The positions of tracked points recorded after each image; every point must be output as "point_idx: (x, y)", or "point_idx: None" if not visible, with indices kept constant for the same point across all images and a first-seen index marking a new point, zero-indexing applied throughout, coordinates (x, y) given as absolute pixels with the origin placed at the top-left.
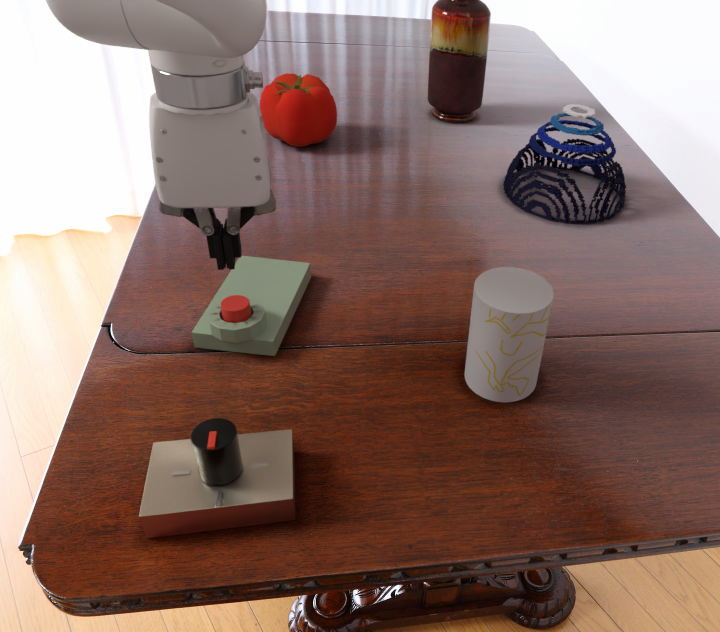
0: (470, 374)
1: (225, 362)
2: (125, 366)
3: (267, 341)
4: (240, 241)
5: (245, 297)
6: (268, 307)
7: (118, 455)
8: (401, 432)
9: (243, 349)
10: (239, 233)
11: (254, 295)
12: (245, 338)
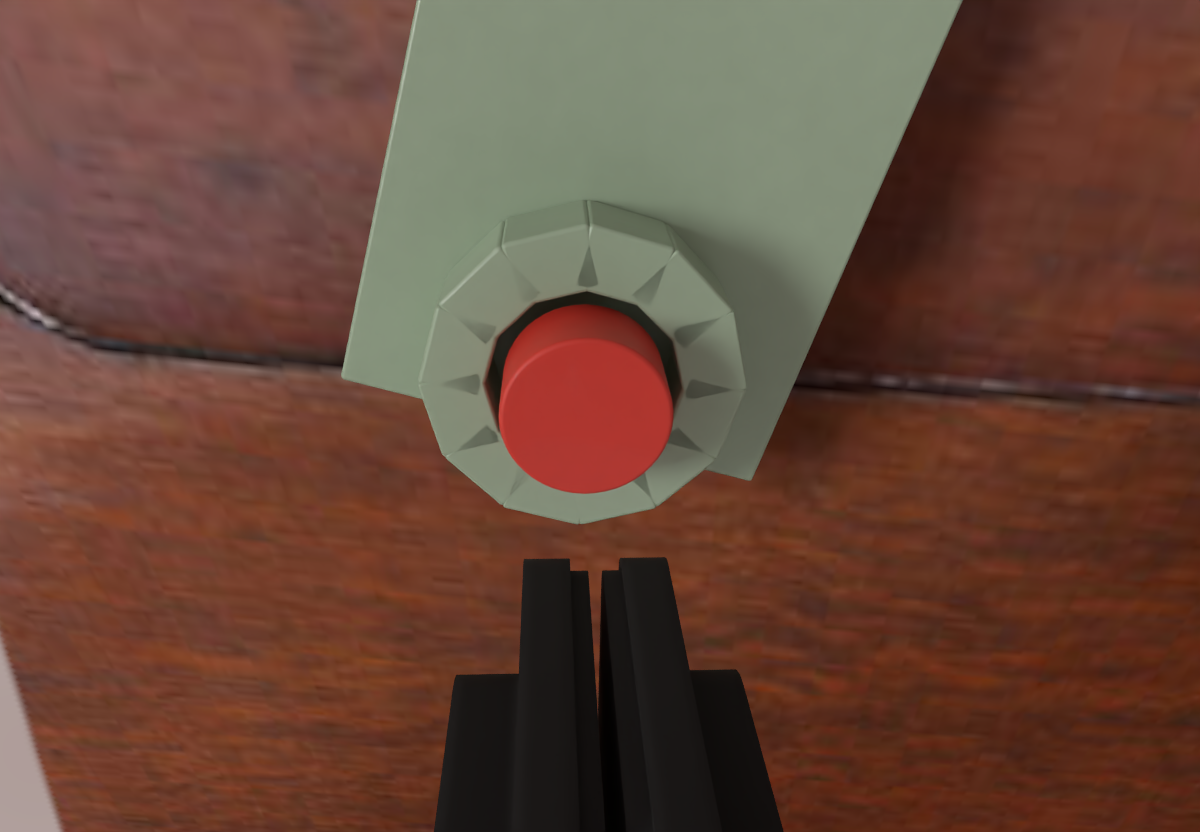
0: None
1: None
2: (78, 429)
3: (723, 473)
4: (755, 737)
5: (650, 374)
6: (751, 196)
7: (231, 809)
8: (1089, 803)
9: None
10: (777, 811)
11: (672, 48)
12: None
